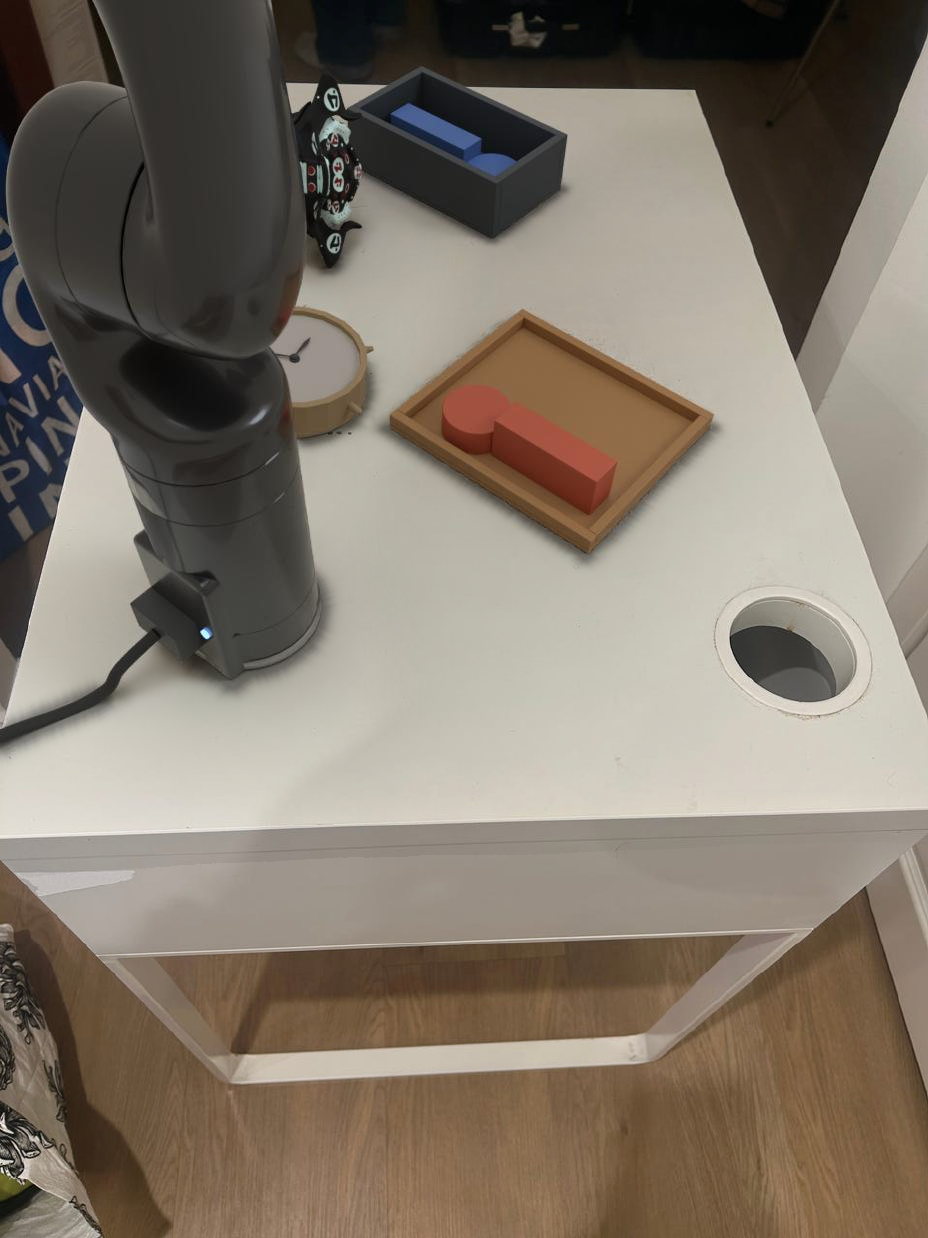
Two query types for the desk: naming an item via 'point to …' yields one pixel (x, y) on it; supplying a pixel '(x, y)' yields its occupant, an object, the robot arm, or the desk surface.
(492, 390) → the red spoon
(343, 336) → the alarm clock
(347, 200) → the figurine
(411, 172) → the bin
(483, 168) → the blue spoon
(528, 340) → the tray
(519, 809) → the desk surface
